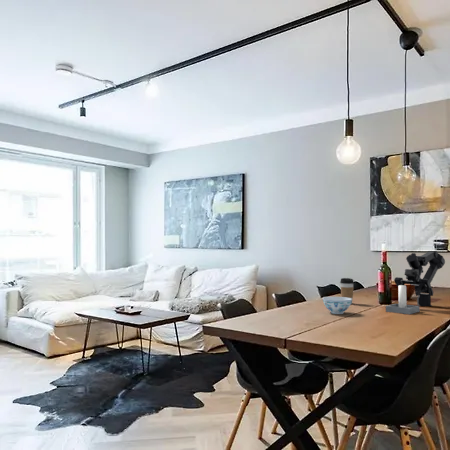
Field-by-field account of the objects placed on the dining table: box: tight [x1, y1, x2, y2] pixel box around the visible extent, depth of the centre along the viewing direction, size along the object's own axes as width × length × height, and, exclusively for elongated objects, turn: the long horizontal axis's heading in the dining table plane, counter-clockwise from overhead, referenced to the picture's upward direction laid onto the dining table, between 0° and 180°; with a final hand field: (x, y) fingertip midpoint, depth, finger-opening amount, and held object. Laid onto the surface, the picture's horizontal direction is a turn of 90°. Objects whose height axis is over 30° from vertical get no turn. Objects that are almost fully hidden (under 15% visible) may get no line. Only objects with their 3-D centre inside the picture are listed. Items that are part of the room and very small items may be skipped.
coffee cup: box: [339, 277, 355, 305], centre depth 273 cm, size 8×8×15 cm
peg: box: [397, 284, 408, 308], centre depth 243 cm, size 4×4×14 cm
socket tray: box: [385, 303, 420, 315], centre depth 243 cm, size 13×13×3 cm
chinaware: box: [322, 296, 353, 315], centre depth 238 cm, size 15×15×8 cm
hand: (407, 294), depth 248 cm, fingers open, 9 cm apart
